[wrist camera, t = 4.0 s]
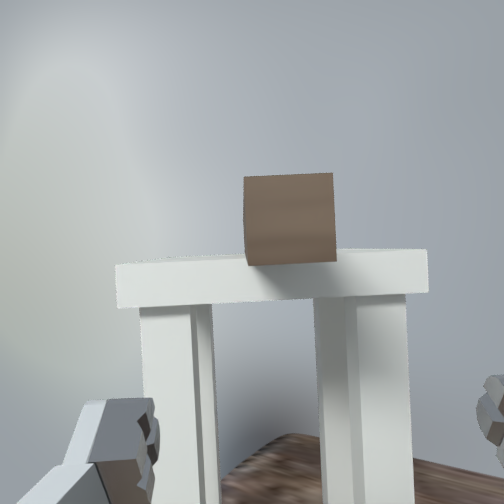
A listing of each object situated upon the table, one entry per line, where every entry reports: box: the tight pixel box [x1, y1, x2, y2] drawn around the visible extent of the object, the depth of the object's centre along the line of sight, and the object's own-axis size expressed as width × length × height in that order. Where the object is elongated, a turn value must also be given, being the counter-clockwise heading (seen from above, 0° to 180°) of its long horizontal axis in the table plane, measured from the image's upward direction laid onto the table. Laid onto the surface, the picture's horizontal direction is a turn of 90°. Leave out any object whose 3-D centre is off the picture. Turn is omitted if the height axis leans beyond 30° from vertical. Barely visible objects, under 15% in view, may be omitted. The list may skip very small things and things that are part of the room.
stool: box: [115, 248, 429, 504], centre depth 33 cm, size 18×18×30 cm
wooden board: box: [243, 173, 337, 266], centre depth 26 cm, size 24×3×3 cm, turn 1°
